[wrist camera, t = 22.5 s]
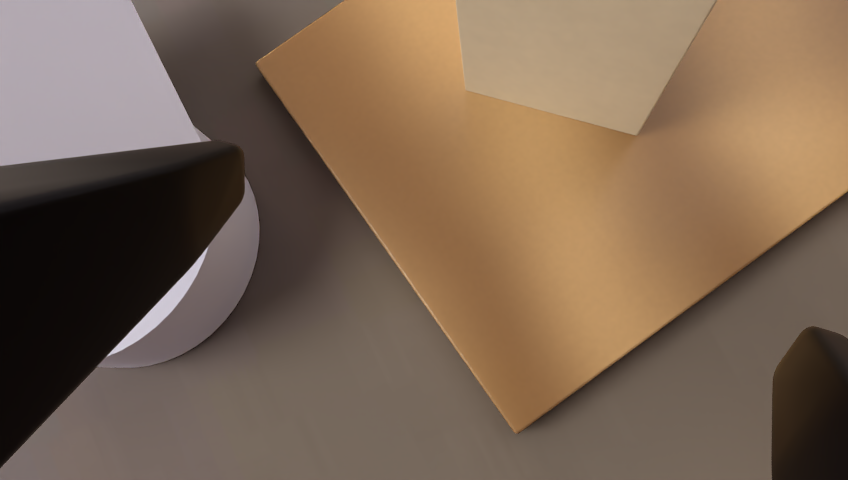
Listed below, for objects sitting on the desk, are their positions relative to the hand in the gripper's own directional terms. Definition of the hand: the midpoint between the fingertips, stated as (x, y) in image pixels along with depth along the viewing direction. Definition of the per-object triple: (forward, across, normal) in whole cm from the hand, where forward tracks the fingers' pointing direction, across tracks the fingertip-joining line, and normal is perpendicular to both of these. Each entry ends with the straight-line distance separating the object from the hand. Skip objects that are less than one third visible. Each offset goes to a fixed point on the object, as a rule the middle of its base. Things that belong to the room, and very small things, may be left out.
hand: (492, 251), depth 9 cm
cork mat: (+14, -1, +1) cm, 14 cm away
